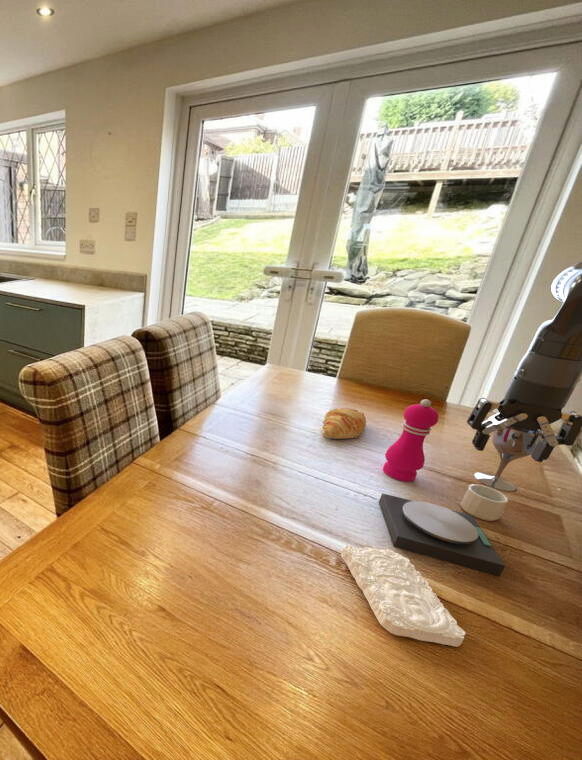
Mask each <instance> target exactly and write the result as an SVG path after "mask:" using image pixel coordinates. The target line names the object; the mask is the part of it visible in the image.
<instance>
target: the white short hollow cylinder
mask: <svg viewBox="0 0 582 760" xmlns="http://www.w3.org/2000/svg"><path fill="white" fill-rule="evenodd" d="M508 502H509V498H508V496H507V495H505V494H504V493H502V492H501V491H500V490H498V489H496V488H493V487H490V486H488V485H484V484H483V485H482V484H478V483H477V484H476V483H472V484H469V485H468V486H467V488H466V491H465V492H464V495H463V497H462V498H461V501H460V506H461V508H462V509H463V511H464V512H466V514H469V515H473V517H474V518H475V519H476V518H477V519H479V520H483V521H486V522H487V521H488V522H493V521H497V520H499V519H500V517H501V515H502V514H503V511H504V510H505V508H506V507H507V504H508Z"/></svg>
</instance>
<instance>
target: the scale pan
mask: <svg viewBox="0 0 582 760" xmlns="http://www.w3.org/2000/svg"><path fill="white" fill-rule="evenodd" d="M451 510H452V509H449V508H446V507H443V506H441V505H438V504H435V503H431V502H427V501H420V500H412V501H411V502H407V503H406V504H404V506H403V508H402V512H403V515H404V516H405V518H406V519H407V520H408V521H409V522H410V523H411V524H413V525H414V526H415V527H417V528H418V529H420V530H422V531H423V532H425V533H427V534H429V535H431V536H433V537H436V538H438V539H441V540H444V541H448V542H452V543H457V544H470V543H473V542H475V541H476V540H477V538H478V532H477V530H476V528H475V527H474V526H473V525H472V524H471V523H470V522H469V521H467V520H466V519H465V518H463V517H462V516H460V515H458V514H457V513H455V512H453V511H454V510H453V511H451Z"/></svg>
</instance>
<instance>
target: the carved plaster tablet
mask: <svg viewBox="0 0 582 760" xmlns="http://www.w3.org/2000/svg"><path fill="white" fill-rule="evenodd" d="M340 557H341V558H342V561H344V563H345V564H346V566H347V568H348V570H349V571H350V573H351V575H352V577H353V579H355V582H356V584H357V586H358V588H359V589H360V590H361V591H362V593H363V595H364V597H365V599H366V600H367V602H368V604H369V606H370V608H371V610H372V612H373V613H374V615H375V618H376V619H377V621H378V623H379V624H380V626H381V627H383V629H385V630H386V631H387V632H388V633H390V634H392V635H394V636H399V637H407V638H411V639H414V640H417V641H421V642H430V643H435V644H440V645H447V646H451V647H456V648H457V647H460V646H461V645H462V643H463V641H464V640H465V636H466V631H465V630H464V629H463V628H462V627H460V626H459V625H458V622H457V620H456V618H454V617H453V615H451V613H450V612H449V610H448V609H447V608H445V606H444V604H443V603H442V602H441V600H440V598H438V596H437V593H435V592H433V591H434V590H433V588H432V587H431V586H430V583H429V582H428V580H427V579H426V578H425V579H424V578H423V577H422V573H421V572H420V571H419V570H416V566H415V565H414V564H413V563H411V562H410V559H409V558H408V557H406V556H404V555H402V554H401V553H398V552H395V551H393V550H392V549H389V548H386V549H379V548H375V547H368V546H365V547H364V546H363V548H362V547H356V546H353V545H351V544H346V545H345V546H344V547H343V548H342V551H341V553H340Z"/></svg>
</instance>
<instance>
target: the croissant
mask: <svg viewBox="0 0 582 760" xmlns="http://www.w3.org/2000/svg"><path fill="white" fill-rule="evenodd" d="M322 423H323V426H322V431H321V435H322V437H324V438H326V439H335V440H341V439H352V438H354V439H356V438H359V437H360V435H361V434H362V432H364V430H365V429H366V426H367V418H366V416H365V413H363V412H360V411H359V410H357V409H353V408H348V407H347V408H346V407H340V408H334V409H331V410H329V411H327V412H326V413H325V415H324V420H323V421H322Z"/></svg>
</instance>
